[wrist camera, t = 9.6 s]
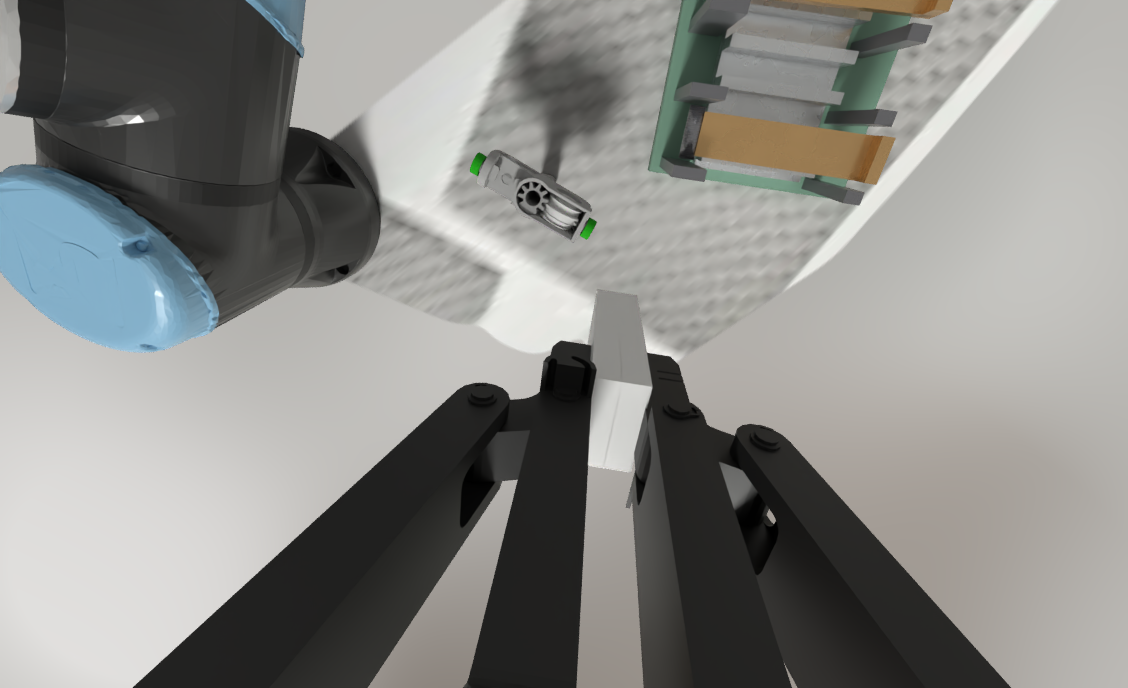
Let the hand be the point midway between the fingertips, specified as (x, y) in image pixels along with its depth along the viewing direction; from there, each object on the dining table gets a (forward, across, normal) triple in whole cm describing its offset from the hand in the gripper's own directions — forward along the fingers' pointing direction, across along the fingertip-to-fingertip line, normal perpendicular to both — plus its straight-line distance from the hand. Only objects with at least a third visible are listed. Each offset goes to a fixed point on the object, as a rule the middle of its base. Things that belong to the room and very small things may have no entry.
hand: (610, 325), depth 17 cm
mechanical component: (+30, -6, +1) cm, 30 cm away
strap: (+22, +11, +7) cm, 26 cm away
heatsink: (+28, +11, +12) cm, 32 cm away
